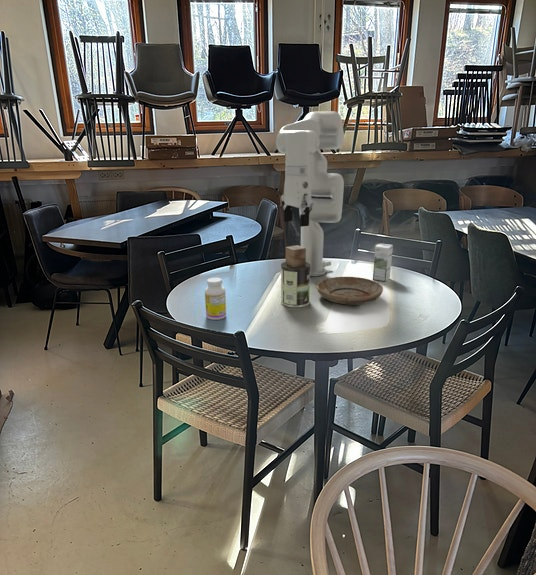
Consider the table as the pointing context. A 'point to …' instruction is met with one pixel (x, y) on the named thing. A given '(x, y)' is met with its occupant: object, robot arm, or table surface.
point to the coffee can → (295, 285)
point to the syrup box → (382, 262)
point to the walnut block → (295, 256)
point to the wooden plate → (349, 290)
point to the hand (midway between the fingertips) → (296, 223)
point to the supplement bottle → (215, 299)
